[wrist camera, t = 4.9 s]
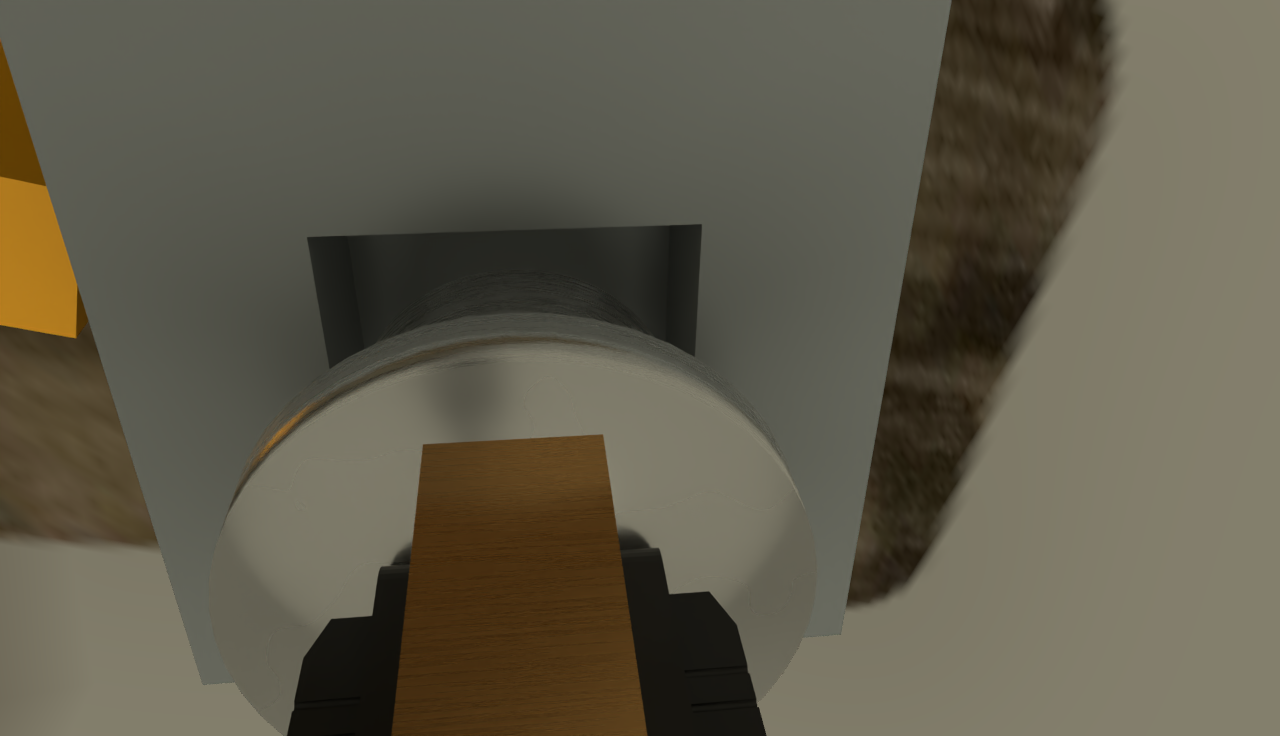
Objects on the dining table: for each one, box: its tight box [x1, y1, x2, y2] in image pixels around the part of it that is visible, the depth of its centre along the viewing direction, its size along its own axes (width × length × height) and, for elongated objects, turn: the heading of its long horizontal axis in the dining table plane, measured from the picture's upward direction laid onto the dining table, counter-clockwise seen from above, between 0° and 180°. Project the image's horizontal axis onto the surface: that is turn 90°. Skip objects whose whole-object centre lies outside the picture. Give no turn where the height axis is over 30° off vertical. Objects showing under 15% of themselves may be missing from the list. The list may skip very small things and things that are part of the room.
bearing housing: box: [0, 0, 952, 685], centre depth 19 cm, size 12×12×8 cm
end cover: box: [209, 269, 817, 736], centre depth 11 cm, size 7×7×9 cm
